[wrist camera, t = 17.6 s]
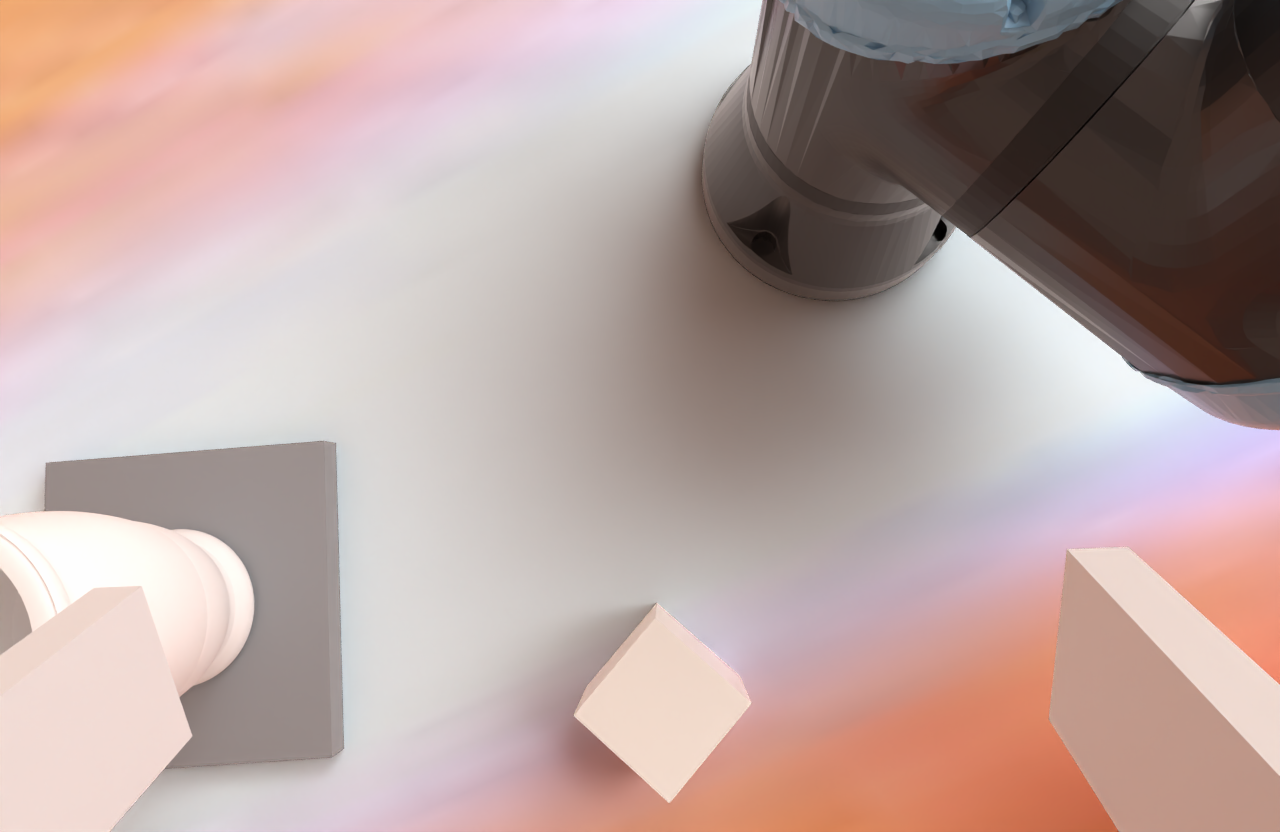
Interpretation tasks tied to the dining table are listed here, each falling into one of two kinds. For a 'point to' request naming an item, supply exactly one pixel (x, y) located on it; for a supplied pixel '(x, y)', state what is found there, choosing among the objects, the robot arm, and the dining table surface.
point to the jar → (128, 583)
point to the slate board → (279, 572)
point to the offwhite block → (663, 702)
